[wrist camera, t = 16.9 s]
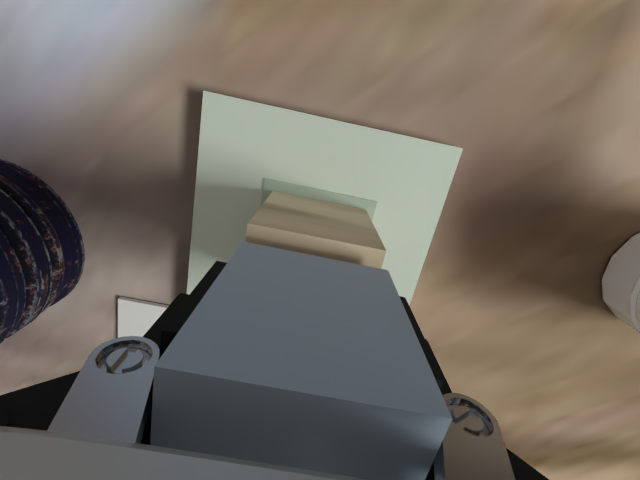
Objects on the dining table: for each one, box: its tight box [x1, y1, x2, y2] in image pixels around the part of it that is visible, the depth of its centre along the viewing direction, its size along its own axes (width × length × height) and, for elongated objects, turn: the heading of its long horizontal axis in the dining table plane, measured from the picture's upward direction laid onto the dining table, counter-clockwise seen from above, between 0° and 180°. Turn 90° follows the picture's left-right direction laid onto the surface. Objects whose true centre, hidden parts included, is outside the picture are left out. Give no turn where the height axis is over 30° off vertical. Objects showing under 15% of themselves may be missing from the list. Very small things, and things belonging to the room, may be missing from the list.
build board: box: [187, 91, 463, 305], centre depth 19 cm, size 13×13×1 cm
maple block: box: [245, 191, 386, 269], centre depth 15 cm, size 5×5×6 cm
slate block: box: [150, 241, 452, 480], centre depth 9 cm, size 5×5×6 cm
